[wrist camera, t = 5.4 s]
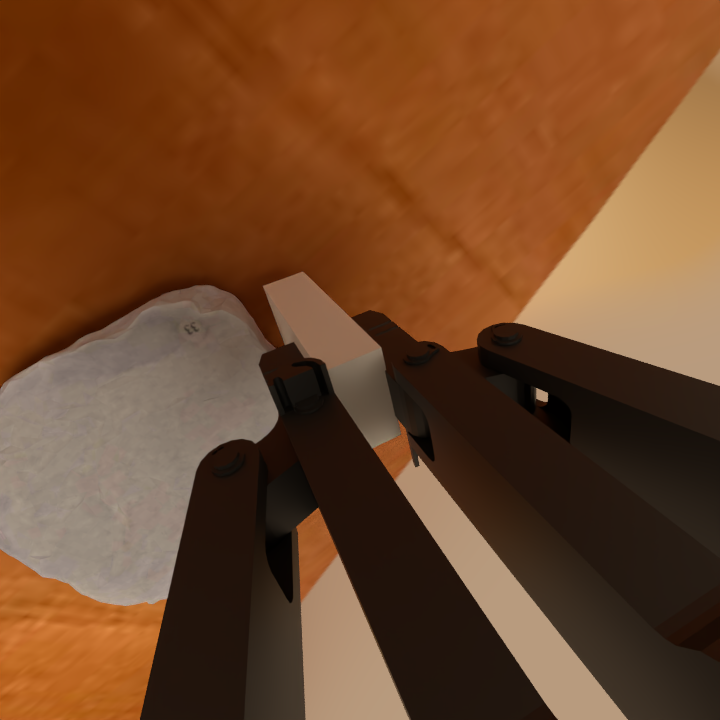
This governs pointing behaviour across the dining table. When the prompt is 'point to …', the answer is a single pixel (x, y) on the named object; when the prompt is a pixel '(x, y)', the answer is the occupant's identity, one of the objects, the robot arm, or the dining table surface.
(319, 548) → the dining table surface
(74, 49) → the dining table surface
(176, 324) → the stone block
